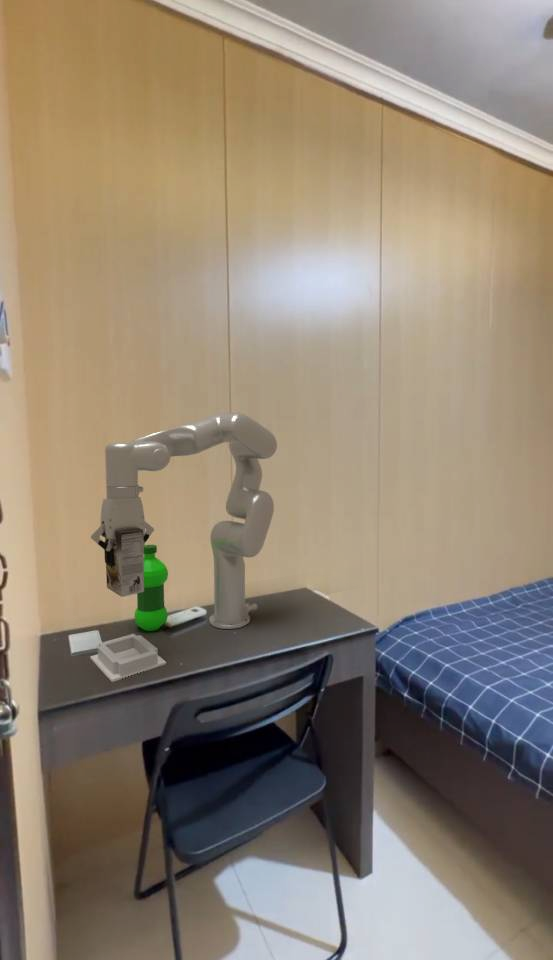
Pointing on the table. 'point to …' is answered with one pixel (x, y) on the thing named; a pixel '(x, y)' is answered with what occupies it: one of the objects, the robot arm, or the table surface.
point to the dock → (126, 657)
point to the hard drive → (84, 643)
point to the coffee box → (127, 563)
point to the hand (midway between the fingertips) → (124, 562)
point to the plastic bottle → (152, 592)
